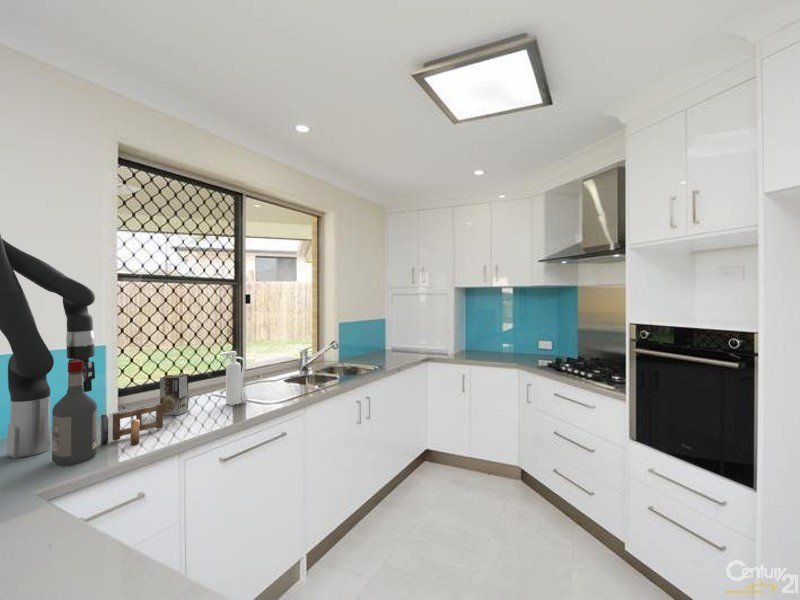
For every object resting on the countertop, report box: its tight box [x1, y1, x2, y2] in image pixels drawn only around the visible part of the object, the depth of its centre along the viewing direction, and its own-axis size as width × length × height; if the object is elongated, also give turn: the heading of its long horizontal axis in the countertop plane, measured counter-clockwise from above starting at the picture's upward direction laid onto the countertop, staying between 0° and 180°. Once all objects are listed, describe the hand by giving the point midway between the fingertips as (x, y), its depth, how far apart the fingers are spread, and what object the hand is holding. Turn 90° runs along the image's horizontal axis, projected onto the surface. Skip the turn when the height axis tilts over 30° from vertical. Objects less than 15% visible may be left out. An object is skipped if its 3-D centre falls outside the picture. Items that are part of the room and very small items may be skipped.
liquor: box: [51, 360, 98, 467], centre depth 117 cm, size 9×9×30 cm
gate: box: [112, 403, 164, 441], centre depth 139 cm, size 16×2×9 cm, turn 149°
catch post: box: [130, 418, 140, 446], centre depth 130 cm, size 2×2×8 cm
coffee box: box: [159, 374, 189, 416], centre depth 167 cm, size 9×6×16 cm
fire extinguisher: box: [219, 350, 250, 406], centre depth 183 cm, size 7×12×25 cm, turn 108°
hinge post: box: [100, 413, 109, 446], centre depth 130 cm, size 2×2×10 cm
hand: (82, 390), depth 134 cm, fingers open, 8 cm apart
